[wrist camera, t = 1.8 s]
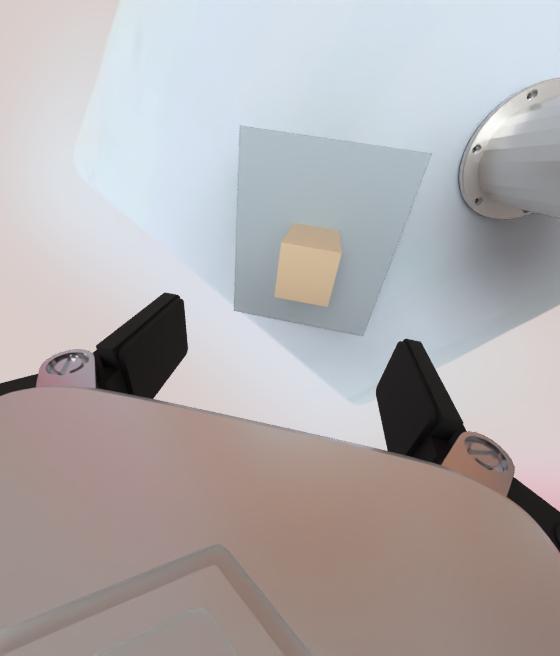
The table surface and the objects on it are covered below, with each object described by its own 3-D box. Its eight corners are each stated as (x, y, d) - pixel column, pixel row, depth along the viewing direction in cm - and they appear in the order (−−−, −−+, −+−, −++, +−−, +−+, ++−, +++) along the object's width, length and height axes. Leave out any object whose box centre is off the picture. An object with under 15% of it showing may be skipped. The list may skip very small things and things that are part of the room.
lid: (422, 154, 20) (478, 148, 13) (360, 325, 29) (371, 382, 22) (247, 128, 21) (201, 109, 14) (239, 301, 30) (209, 348, 23)
